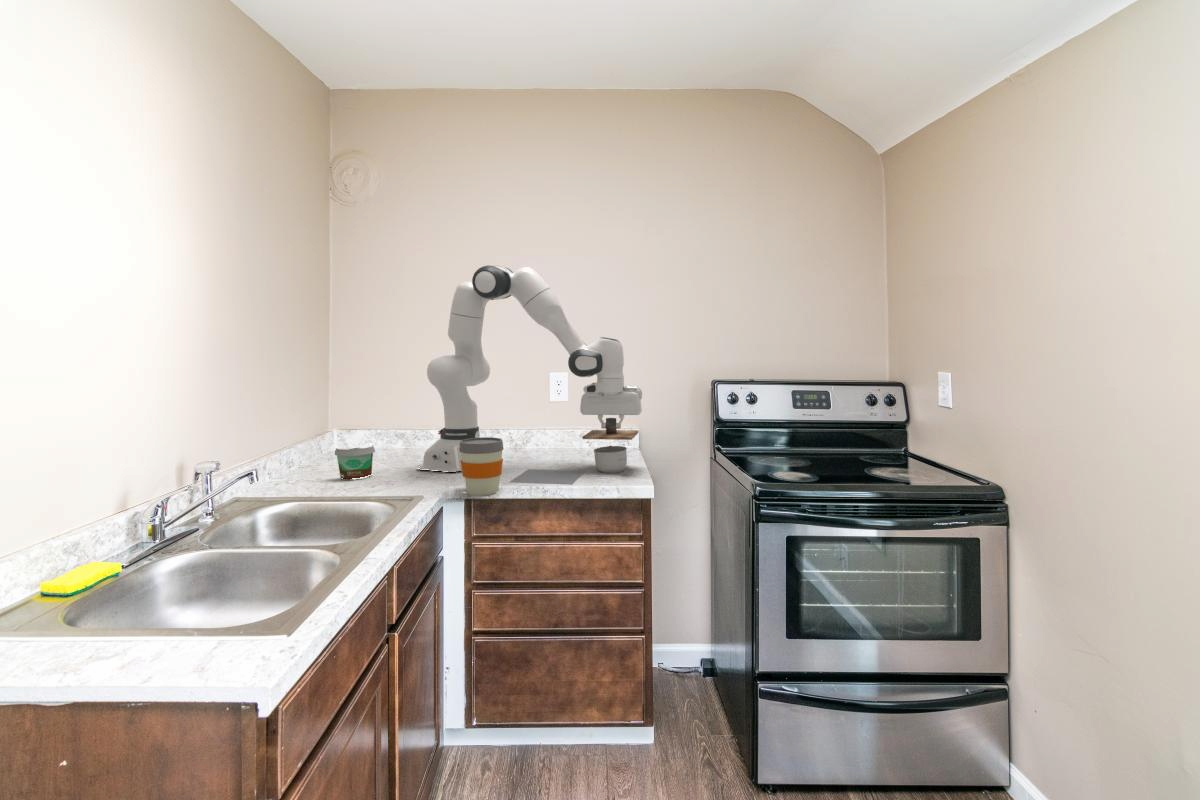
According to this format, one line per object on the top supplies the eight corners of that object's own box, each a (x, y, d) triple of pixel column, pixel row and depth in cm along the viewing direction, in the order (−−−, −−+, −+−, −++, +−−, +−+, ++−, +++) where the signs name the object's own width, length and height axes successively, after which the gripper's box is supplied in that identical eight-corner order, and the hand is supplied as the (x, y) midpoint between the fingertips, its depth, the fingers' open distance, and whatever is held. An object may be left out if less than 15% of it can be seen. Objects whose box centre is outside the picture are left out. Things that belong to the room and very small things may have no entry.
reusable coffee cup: (504, 485, 186) (502, 436, 185) (505, 495, 174) (503, 443, 172) (461, 487, 184) (460, 438, 183) (459, 498, 172) (457, 444, 170)
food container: (337, 482, 193) (335, 451, 192) (335, 479, 198) (334, 448, 197) (378, 478, 199) (377, 447, 198) (376, 474, 204) (374, 444, 203)
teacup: (624, 475, 198) (623, 451, 198) (591, 474, 200) (590, 450, 200) (630, 467, 212) (630, 444, 211) (599, 466, 214) (599, 443, 213)
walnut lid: (582, 439, 199) (582, 421, 198) (592, 432, 214) (592, 415, 214) (631, 439, 196) (631, 421, 195) (638, 432, 211) (638, 415, 211)
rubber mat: (508, 483, 189) (508, 482, 189) (528, 470, 208) (528, 469, 208) (572, 485, 185) (572, 484, 185) (586, 472, 205) (586, 470, 205)
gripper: (643, 386, 205) (643, 427, 206) (582, 386, 208) (583, 426, 210) (640, 387, 198) (641, 430, 200) (578, 387, 202) (579, 429, 204)
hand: (611, 428), depth 205 cm, fingers closed on walnut lid, 3 cm apart
